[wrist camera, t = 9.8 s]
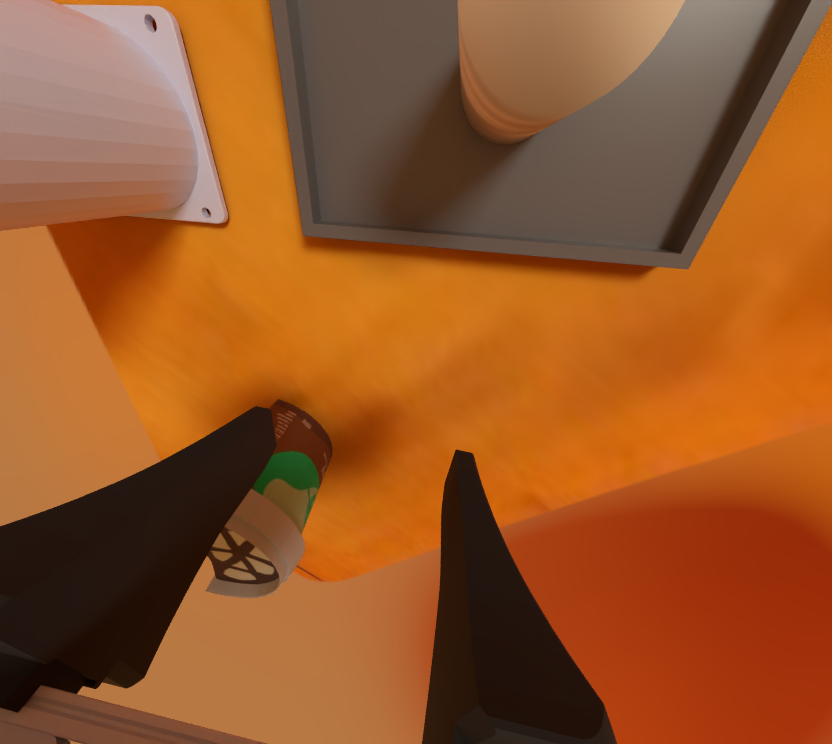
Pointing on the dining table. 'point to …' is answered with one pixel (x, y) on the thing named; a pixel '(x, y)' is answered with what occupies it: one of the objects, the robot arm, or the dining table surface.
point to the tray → (540, 153)
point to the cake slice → (273, 510)
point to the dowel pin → (549, 57)
